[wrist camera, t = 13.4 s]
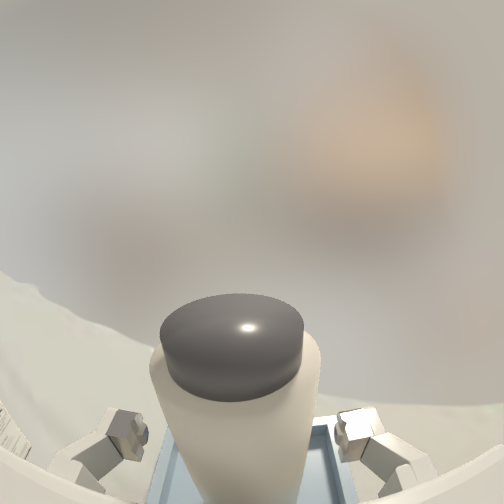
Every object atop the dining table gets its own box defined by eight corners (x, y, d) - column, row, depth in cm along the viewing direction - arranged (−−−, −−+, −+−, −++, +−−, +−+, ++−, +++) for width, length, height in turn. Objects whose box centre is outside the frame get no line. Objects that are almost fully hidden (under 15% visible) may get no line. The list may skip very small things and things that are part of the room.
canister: (204, 532, 10) (111, 377, 6) (212, 468, 15) (168, 288, 11) (299, 532, 10) (345, 378, 6) (292, 467, 15) (307, 284, 11)
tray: (145, 565, 7) (131, 559, 6) (176, 435, 19) (169, 418, 18) (361, 565, 7) (372, 560, 6) (331, 431, 19) (335, 415, 18)
